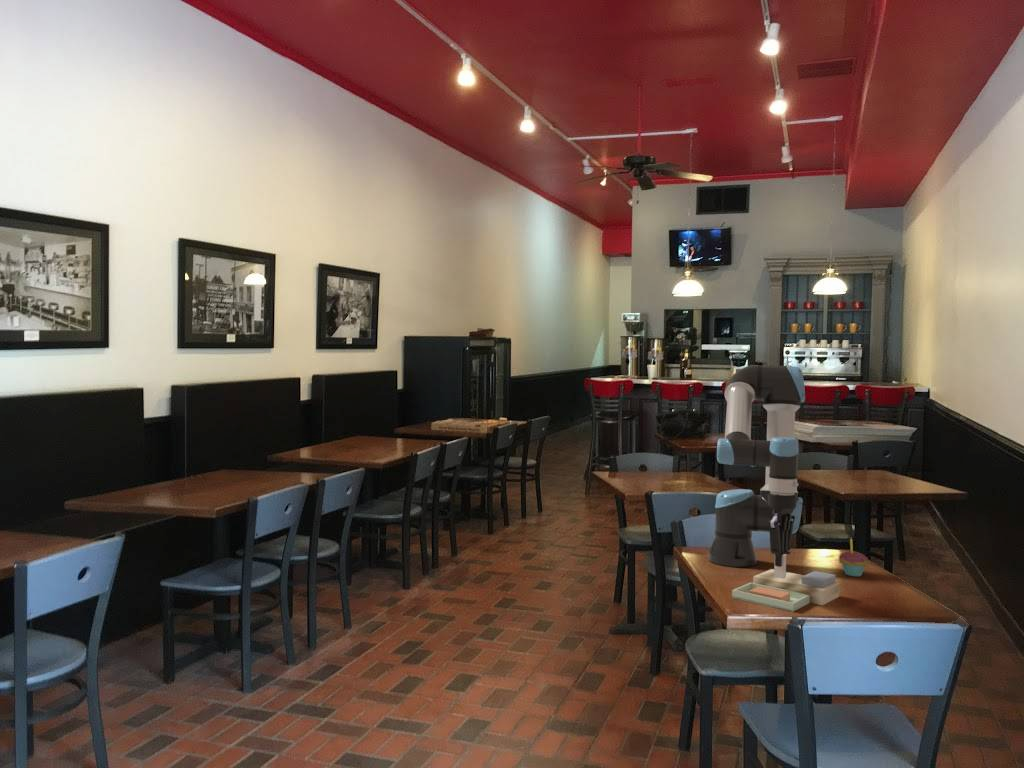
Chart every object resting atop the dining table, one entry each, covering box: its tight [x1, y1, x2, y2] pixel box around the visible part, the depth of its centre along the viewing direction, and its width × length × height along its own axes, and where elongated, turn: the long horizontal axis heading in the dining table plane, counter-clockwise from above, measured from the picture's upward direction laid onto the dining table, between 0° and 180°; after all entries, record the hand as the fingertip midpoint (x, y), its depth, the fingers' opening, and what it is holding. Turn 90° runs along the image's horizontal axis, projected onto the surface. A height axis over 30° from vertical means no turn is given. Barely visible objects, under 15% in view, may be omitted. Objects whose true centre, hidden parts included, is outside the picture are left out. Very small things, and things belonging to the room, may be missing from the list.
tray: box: [731, 582, 811, 613], centre depth 226 cm, size 17×11×2 cm, turn 48°
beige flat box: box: [752, 568, 840, 606], centre depth 233 cm, size 20×12×4 cm, turn 48°
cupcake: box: [838, 538, 869, 577], centre depth 256 cm, size 9×8×12 cm
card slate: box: [802, 570, 837, 588], centre depth 230 cm, size 9×6×2 cm, turn 138°
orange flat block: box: [749, 586, 790, 602], centre depth 225 cm, size 9×6×2 cm, turn 49°
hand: (779, 577), depth 229 cm, fingers closed
